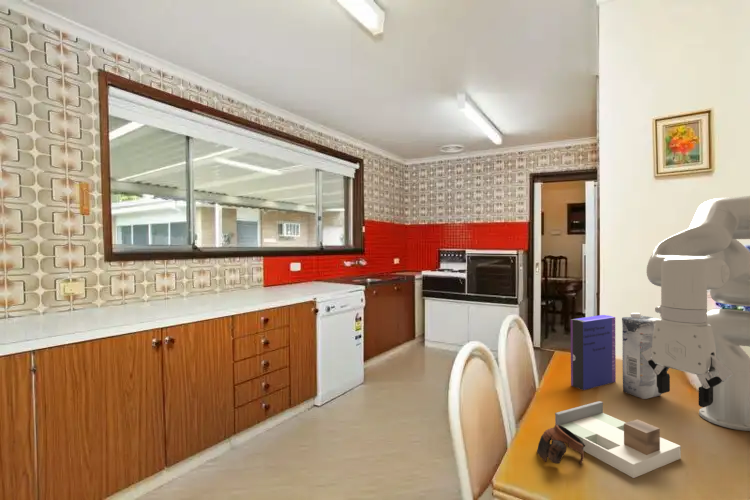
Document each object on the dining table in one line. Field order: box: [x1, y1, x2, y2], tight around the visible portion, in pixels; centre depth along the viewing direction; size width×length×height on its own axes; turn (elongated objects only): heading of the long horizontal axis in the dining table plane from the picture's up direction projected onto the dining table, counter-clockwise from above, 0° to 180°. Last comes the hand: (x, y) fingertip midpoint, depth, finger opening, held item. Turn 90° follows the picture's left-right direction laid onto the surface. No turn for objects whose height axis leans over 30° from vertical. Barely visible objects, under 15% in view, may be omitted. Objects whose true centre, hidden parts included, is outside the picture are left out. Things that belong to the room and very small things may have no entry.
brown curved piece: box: [536, 424, 585, 465], centre depth 88 cm, size 12×10×8 cm
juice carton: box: [621, 312, 662, 400], centre depth 125 cm, size 9×10×27 cm
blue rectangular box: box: [570, 314, 617, 391], centre depth 134 cm, size 17×5×24 cm, turn 115°
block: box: [624, 419, 661, 455], centre depth 87 cm, size 5×5×5 cm
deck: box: [554, 400, 682, 479], centre depth 93 cm, size 20×18×6 cm
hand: (683, 398), depth 79 cm, fingers open, 6 cm apart
